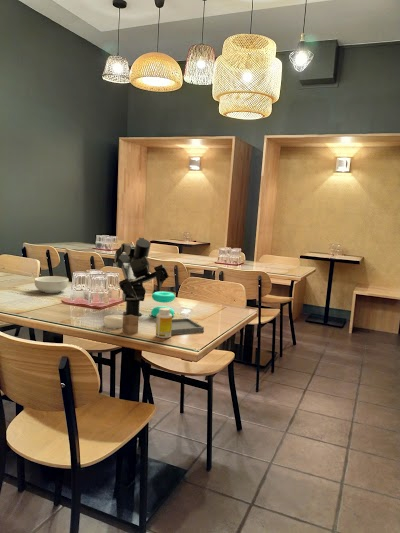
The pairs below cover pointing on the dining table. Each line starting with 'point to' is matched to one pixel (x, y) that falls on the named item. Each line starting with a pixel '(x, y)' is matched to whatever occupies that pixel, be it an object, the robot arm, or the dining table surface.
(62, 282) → the cereal bowl
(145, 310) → the dining table surface
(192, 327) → the slate tray
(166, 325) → the supplement bottle
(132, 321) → the walnut block
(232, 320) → the dining table surface
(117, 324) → the cream rounded block
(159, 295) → the donuts
